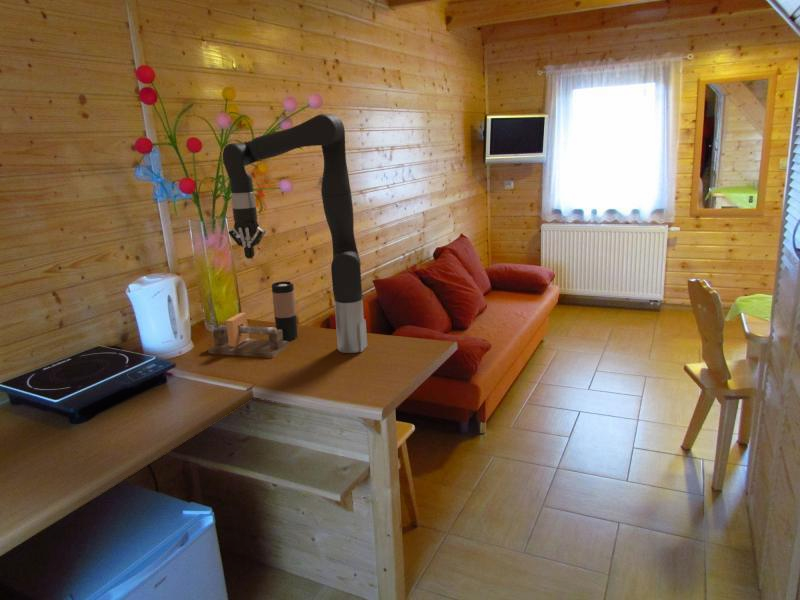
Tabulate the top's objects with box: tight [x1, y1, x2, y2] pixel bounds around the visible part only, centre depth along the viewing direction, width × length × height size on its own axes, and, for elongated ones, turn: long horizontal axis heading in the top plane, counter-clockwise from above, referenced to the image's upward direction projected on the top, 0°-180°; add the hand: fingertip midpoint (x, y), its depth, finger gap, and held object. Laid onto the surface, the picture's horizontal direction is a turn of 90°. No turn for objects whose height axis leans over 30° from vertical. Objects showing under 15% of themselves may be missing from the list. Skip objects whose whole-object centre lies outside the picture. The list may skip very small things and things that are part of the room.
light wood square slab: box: [225, 312, 250, 346], centre depth 192 cm, size 2×9×9 cm, turn 165°
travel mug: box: [271, 281, 298, 342], centre depth 200 cm, size 8×8×20 cm
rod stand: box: [207, 324, 290, 359], centre depth 192 cm, size 24×12×8 cm, turn 75°
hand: (249, 258), depth 189 cm, fingers closed
